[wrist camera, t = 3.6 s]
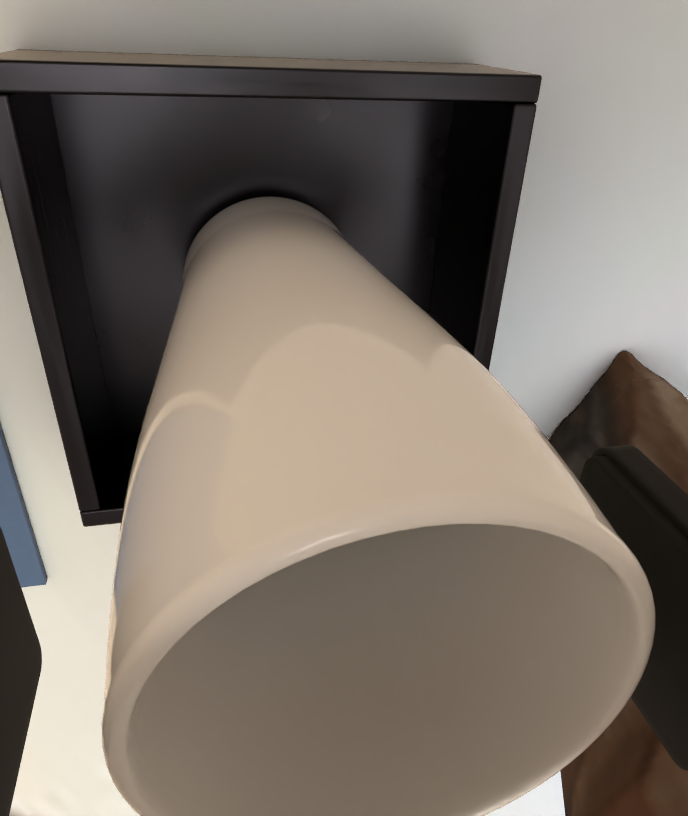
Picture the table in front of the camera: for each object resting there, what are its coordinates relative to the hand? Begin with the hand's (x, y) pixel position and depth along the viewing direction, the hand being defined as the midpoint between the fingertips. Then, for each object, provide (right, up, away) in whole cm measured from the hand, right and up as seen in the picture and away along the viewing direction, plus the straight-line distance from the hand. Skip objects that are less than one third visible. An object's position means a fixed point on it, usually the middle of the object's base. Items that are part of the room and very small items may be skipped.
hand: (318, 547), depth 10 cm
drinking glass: (-2, +7, +10) cm, 12 cm away
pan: (-2, +6, +10) cm, 12 cm away
